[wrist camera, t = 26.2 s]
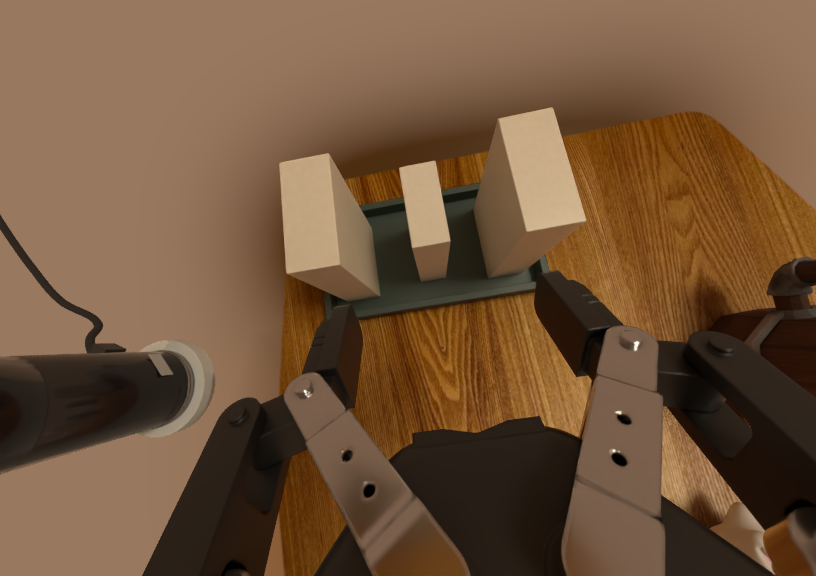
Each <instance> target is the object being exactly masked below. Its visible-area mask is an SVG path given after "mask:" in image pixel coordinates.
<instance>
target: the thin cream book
mask: <svg viewBox="0 0 816 576" xmlns="http://www.w3.org/2000/svg"><path fill="white" fill-rule="evenodd" d="M399 171H400V177H401V184H402V190H403V196H404V202H405V208H406V214H407V221H408V227H409V233H410V239H411V245H412V250H413V254H414V257H415V261H416V265H417V269H418V272H419V276H420V280H421V282H425V281H431V280H437V279H443V278H446V271H447V263H448V256H449V249H450V241H451V240H450V235H449V230H448V225H447V219H446V214H445V209H444V204H443V199H442V193H441V188H440V183H439V178H438V172H437V167H436V162H435V161H431V162H426V163H421V164H415V165H410V166H405V167H400V168H399Z"/></svg>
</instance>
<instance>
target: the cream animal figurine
mask: <svg viewBox="0 0 816 576" xmlns="http://www.w3.org/2000/svg"><path fill="white" fill-rule="evenodd" d="M709 529H711V530H712V531H714V532H715V533H716V534H718V535H719V536H721V537H722V538H724V539H725V540H726V541H728V542H729V543H731V544H732V545H734V546H735V547H736V548H738V549H739V550H741V551H742V552H744V553H745V554H746V555H748V556H749V557H751V558H752V559H754V560H755V561H756V562H758V563H759V564H761V565H762V566H764V567H765V568H766V569H768V570H769V571H770V572H772V573H773V574H775V573H774V572H773V570H772V566H771V563H772V561H771V560H770V558H769V557H768V555H767V552H766V550H765V547H764V544H763V534H764V532H765V530H764V529H763V528H762V527H761V525H760V524H759V523H758V522H757V520H756V519H755V518H754V517H753V515H752V514H751V513H750V512H749V510H748V509H747V508H746V506H745V505H744V504H743V503H740V502H735V503H733V504H732V505H731V506H730V508H729V510H728V512H727V515H726V517H725V519H724V521H723V522H722V523H721V524H718V525H715V526H713V527H711V528H709Z"/></svg>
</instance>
